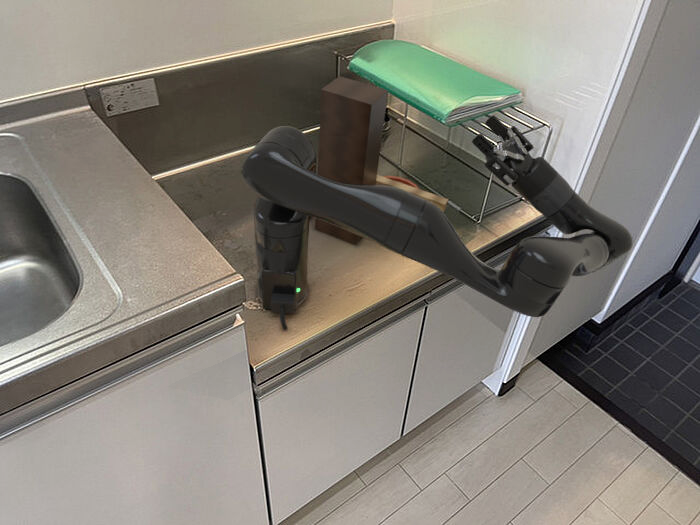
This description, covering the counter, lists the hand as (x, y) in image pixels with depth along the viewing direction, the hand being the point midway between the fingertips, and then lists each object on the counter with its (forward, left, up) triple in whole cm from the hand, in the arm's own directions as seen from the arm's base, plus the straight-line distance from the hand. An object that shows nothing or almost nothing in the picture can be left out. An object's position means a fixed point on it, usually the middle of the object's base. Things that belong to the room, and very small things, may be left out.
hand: (482, 127), depth 102 cm
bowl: (+7, +14, -27) cm, 31 cm away
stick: (+6, +14, -21) cm, 26 cm away
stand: (0, +25, -27) cm, 36 cm away
